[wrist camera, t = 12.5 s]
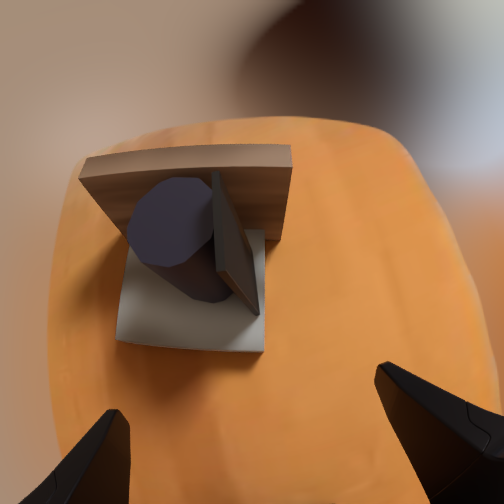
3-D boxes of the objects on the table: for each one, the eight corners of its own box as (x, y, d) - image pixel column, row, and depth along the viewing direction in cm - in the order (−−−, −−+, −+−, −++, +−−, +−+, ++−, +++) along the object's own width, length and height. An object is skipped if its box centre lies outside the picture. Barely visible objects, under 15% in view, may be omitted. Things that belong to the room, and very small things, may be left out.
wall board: (281, 352, 21) (301, 339, 12) (111, 340, 22) (39, 316, 12) (279, 221, 26) (290, 144, 17) (131, 222, 26) (87, 157, 17)
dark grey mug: (276, 247, 23) (266, 163, 13) (259, 317, 21) (234, 275, 11) (191, 232, 24) (139, 155, 15) (170, 295, 22) (95, 244, 13)
